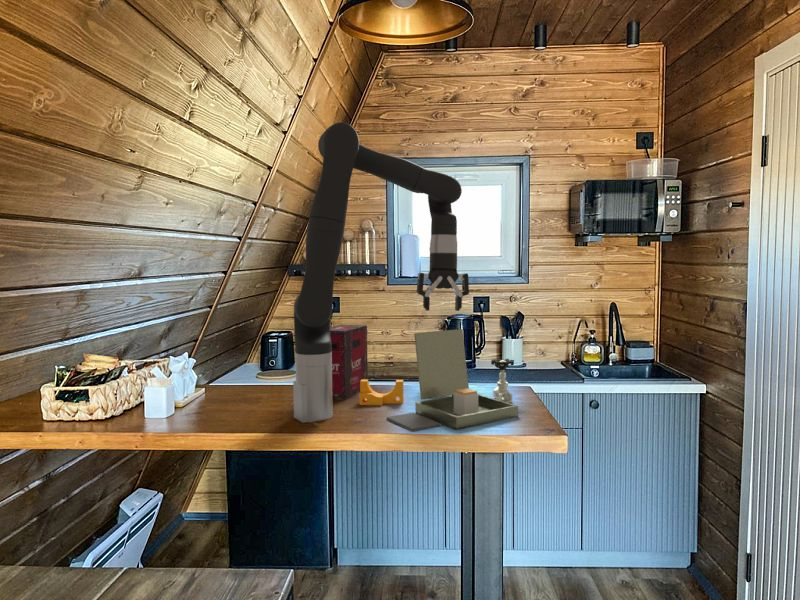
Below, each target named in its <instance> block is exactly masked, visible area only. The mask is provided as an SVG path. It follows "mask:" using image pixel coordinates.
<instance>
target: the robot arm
mask: <svg viewBox="0 0 800 600" xmlns="http://www.w3.org/2000/svg"><path fill="white" fill-rule="evenodd" d="M317 147H318V151H319V154H320V156H321V157H322V158H323V159H322V160H323V161H322V168H321V177H320V179H319V184H318V186H317V188H316V191H315V194H314V197H313V201H312V204H311V207H310V209H309V210H310V211H309V215H308V222H307V228H306V236H305V270H304V277H303V281H302V286H301V288H300V289H301V290H300V293H299V294H298V295H297V296H296V298H295V300H294V304H293V305H294V306H293V324H294V325H293V327H294V328H293V329H294V347H295V348H294V349H295V380H294V381H293V384H292V385H293V387H292V389H293V418H294V419H295V420H297V421H299V422H301V423H302V424H304V423H315V422H320V421H325V420H329V419H331V418H332V417H333V416H334V415H333V414H334V413H333V411H334V408H333V407H334V406H333V405H334V404H333V399H332V343H331V336H330V327H331V323H330V322H331V320H330V317H331V316H332V313H333V301H334V300H333V298H334V283H335V281H334V280H335V274H336V269H337V265H338V261H339V258H340V253H341V248H342V243H343V239H344V234H345V227H346V226H345V225H346V221H347V219H346V218H347V211H348V204H349V195H350V183H351V178H352V176H353V175H352V174H353V170H357V171H360V172H363V173H367V174H370V175H372V176H373V177H374V176H375V177H376V178H380V179H382V180H384V181H387V182H389V183H391V184H393V185H396V186H397V187H401V188H402V189H405V190H407V191H410V192H411V193H415V194H425V195H426V196H427V199H428V200H427V202H428V207H429V214H430V219H431V225H430V227H431V228H430V230H431V231H430V242H429V271H428V273H424V272H418V274H417V280H416V281H417V283H416V284H417V285H416V294H418V295H420V296H421V297H422V298H423V299H422V300H423V302H422V304H423V305H422V306H423V309H425V311H426V312H427V311H430V304H431V303H430V299H431V298H430V297H429V296H430V295H431V294H432V293H433V292H434V291H435V289H439V290H440V289H446V290H451V291H453V293H454V294H455V297H454V298H455V300H454V301H455V302H454V303H455V304H454V310H455V311H456V312H460V310H461V309H462V307H463V297H464V296H467V295H469V294H470V287H469V285H470V282H469V274H468V273H466V272H464V273H458V236H457V233H458V230H457V229H458V228H457V227H458V225H457V224H458V221H457V217H456V215H455V214H453V211H452V204H454V203H455V202H457V201H458V200H459V199H460V197H461V196H462V191H463V190H462V189H463V188H462V186H461V184H460V182H459V180H457V179H456V178H455V177H453V176H450V175H448V174H445V173H442V172H437V171H435V170H429V169H426V168H425V167H422V166H421V165H419V164H417V163H414V162H412V161H409V160H407V159H404V158H402V157H400V156H396V155H395V156H394V155H392V154H387V153H383V152H379V151H377V150H374V149H371V148H368V147H366V146H365V145H363V144H360V138H359V135H358V132H357V131H356V129H355V128H354V127H353V126H352V125H351V124H349V123H348V122H340V121H339V122H336V123H333V124H332V125H330V126H329V127H327V128H326V129H325V131H324V132H323V133H322V134H321V135H320V137H319V140H318V143H317ZM427 279H428V280H429V281H430V283H429V284H428V286H427V288H426V289H425V291H424V282H425V281H426V280H427ZM457 280H459V281H461V288H462V289H461V290H460V289H459V287H458V285H457V283H456V282H457Z"/></svg>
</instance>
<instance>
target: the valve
mask: <svg viewBox="0 0 800 600" xmlns="http://www.w3.org/2000/svg"><path fill="white" fill-rule="evenodd" d="M490 363H491V364H490V365H492V366H495V368H496V369H498V370H500V372H499V373H498V376H499V377H498V378H499V381H497V384H496V385H497V387H495V388H493V390H492V391H493V392H492V394H493V395H492V396H493V397H494V399H497V400H500V401H503V402H507V403H510V404H511V402H513V393H511V392H510V391H509V390H508V387H509V382H507V380H506V379H507V373H506V372H505V371H506V370H507V369H508V367H509V365H510V366H515V359H510V358H505V359H502V358H497V359H495V358H494V359H491V362H490Z"/></svg>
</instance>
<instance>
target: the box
mask: <svg viewBox="0 0 800 600" xmlns="http://www.w3.org/2000/svg"><path fill="white" fill-rule="evenodd" d="M330 336H331V343H332V400H339V401H340V400H341V401H343V400H344V401H347V400H348V399H350V398H352V397H353V396H355V395H356V394H358V393H359V394H360V381H361V380H362V379H366V380H368V381H369V377H368V376H369V375H368V373H369V372H368V368H369V367H368V325H363V324H339V325H335V326H330Z"/></svg>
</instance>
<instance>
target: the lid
mask: <svg viewBox="0 0 800 600" xmlns="http://www.w3.org/2000/svg"><path fill="white" fill-rule="evenodd" d="M413 335H414V342H415V343H414V345H415V346H414V347H415V353H416V362H417V363H416V365H417V374H418V382H419V391H420V392H419V393H420V401H425V400H431V399H437V398H443V397H450V396H452V395H454V392H455V390H459V389H465V388H468V389H470V387H469V376H468V368H467V360H466V350H465V341H464V339H465V338H464V332H463V328H461V329H459V328H458V329H448V330H435V331H423V332H414V334H413Z"/></svg>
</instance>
